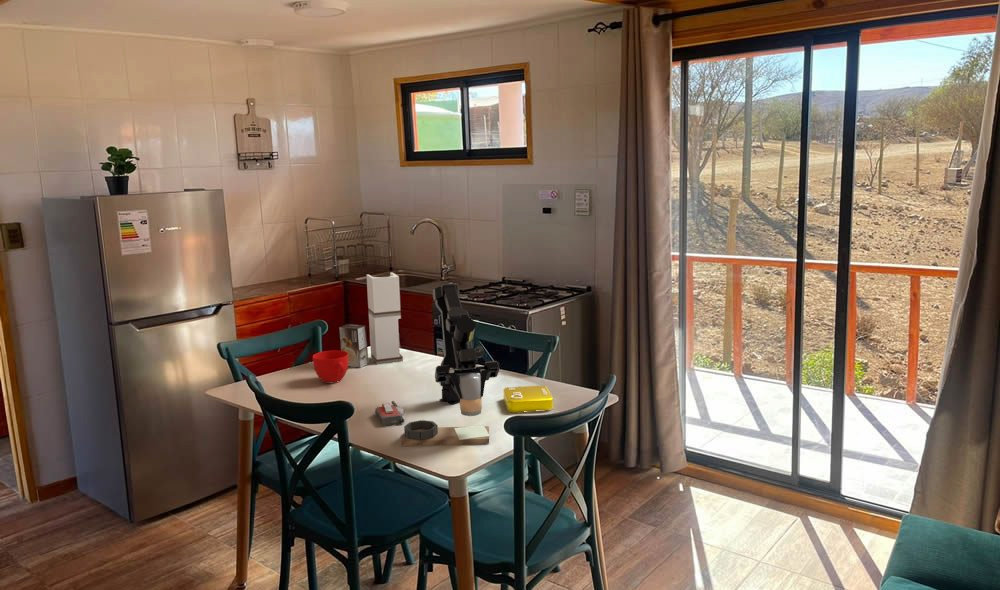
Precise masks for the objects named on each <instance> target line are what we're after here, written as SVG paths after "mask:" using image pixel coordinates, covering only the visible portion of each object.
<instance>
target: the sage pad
mask: <svg viewBox="0 0 1000 590" xmlns="http://www.w3.org/2000/svg"><path fill="white" fill-rule="evenodd" d="M484 426H485V425H471V426H460V427H461V428H454V430H455V432H456V434H457V436H458V438H459V440H464V439H473V438H482V437H489V438H490V437H491V435H490V432H489V433H488V432H487V430H486V428H485V427H484Z"/></svg>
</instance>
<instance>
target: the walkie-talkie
mask: <svg viewBox="0 0 1000 590" xmlns="http://www.w3.org/2000/svg"><path fill="white" fill-rule="evenodd" d="M374 414H375V417H376V419H377V420H378V421H379V423H380V425H381V426H382V427H389V426H396V425H401V423H402V424H404V423H405V419H404V416H405V410H404V408H403V407H402V406H401V405H398V404H397V403H396V402H395V401H394V400H392V401H391V404H390V403H389V402H388V403H382V404H381V406H377V407H375V408H374Z"/></svg>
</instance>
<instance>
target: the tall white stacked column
mask: <svg viewBox="0 0 1000 590" xmlns="http://www.w3.org/2000/svg"><path fill="white" fill-rule="evenodd" d="M366 287H367V288H366V289H367V290H366V291H367V292H366V293H367V305H368V306H367V307H368V323H369V326H368V327H369V344H370V345H369V346H370V358H371V359H372V360H373V361H375V362H374V363H375V364H376V365H383V363H386V364H393V362H394V363H399V362H401V361H402V362H403V360H404V357H403V355H402V354H401V353H400V351H401V350H400V349H401V348H400V333H399V319H402V315H401V314H402V313H401V294H400V292H401V290H400V276H399V275H397V274H396V273H394V272H390V273H389V276H382V277H381V276H380V277H379V276H378V277H376V276H372V275H370V274H366Z"/></svg>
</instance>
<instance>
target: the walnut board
mask: <svg viewBox="0 0 1000 590" xmlns="http://www.w3.org/2000/svg"><path fill="white" fill-rule="evenodd" d="M461 427H462V426H449V427H448V426H445V427H444V426H443V427H442V426H441V427H439V426H438V434H437V435H436V436H435V437H433V438H430V439H425V440H413V439H408V438H407V437H406V436H405V432H403V436H402V440H401V445H402V447H410V446H413V447H414V446H419V447H420V446H446V445H445V444H448V445H449V446H451V445H450V444H456V445H484V444H483V443H489V444H490V437H482V438H473V439H464V440H459V438H458V436H457V434H456V432H455V430H454V428H461ZM484 427H485V428H486V430H487V432H488V433H489V434H490V426H489V425H484ZM424 430H428V429H418V430H414V431H424ZM440 444H441V445H440Z"/></svg>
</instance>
